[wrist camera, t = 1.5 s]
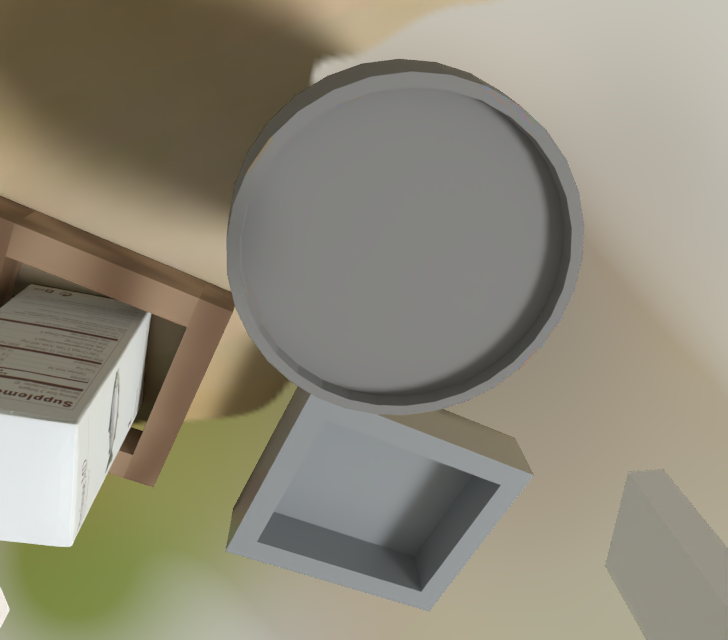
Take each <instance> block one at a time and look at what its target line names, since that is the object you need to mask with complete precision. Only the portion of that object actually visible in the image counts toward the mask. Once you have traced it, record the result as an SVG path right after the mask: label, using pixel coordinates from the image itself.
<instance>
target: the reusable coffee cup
mask: <svg viewBox="0 0 728 640" xmlns="http://www.w3.org/2000/svg"><path fill="white" fill-rule="evenodd" d="M583 234H584V222H583V215H582V209H581V203H580V196H579V191H578V189H577V186H576V183H575V181H574V178H573V176H572V173H571V170H570V168H569V165H568V163H567V160H566V159H565V157H564V155H563V154H562V153H561V151H560V150H559V148H558V147H557V145H556V144H555V142H554V141H553V139H552V138H551V136H550V135H549V133H548V132H547V130H546V129H545V128H544V127H543V126H541V125H540V124H539V123H538V122H537V121H536V120H535V119H534V118H533V117H532V116H531V115H530V114H529V113H528V112H527V111H526V110H524V109H523V108H522V107H521V106H520V105H519V104H517V103H516V102H515V101H513V100H512V99H510V98H509V97H508V96H506V95H505V94H504V93H502V92H501V91H499V90H498V89H496V88H495V87H493V86H491V85H489V84H488V83H486V82H484V81H482V80H481V79H479V78H477V77H476V76H474V75H472V74H471V73H468V72H465V71H462V70H459V69H456V68H452V67H449V66H446V65H443V64H440V63H437V62H428V61H417V60H406V59H405V60H404V59H395V60H388V61H379V62H372V63H364V64H360V65H357V66H354V67H352V68H349V69H346V70H343V71H340V72H338V73H335V74H332V75H329V76H327V77H325V78H323V79H322V80H320V81H319V82H317V83H315V84H314V85H312V86H310V87H309V88H307V89H306V90H304V91H302V92H301V93H299V94H297V95H296V96H295V97H294V98H293V99H292V100H290V101H289V102H288V103H287V104H286V105H285V106H284V107H283V108H282V109H281V110H280V111H279V112H278V113H277V114H276V115H275V116H274V117H273V118H272V119H271V120H270V121H269V122H268V123H267V125H266V126H265V127H264V129H263V130H262V132H261V133H260V135H259V136H258V138H257V139H256V141H255V142H254V144H253V145H252V146H251V148H250V149H249V151H248V153H247V156H246V158H245V161H244V163H243V165H242V168H241V170H240V173H239V175H238V177H237V180H236V182H235V187H234V192H233V198H232V203H231V208H230V213H229V221H228V230H227V275H228V279H229V283H230V288H231V292H232V296H233V300H234V305H235V308H236V310H237V312H238V314H239V316H240V318H241V320H242V323H243V325H244V327H245V329H246V331H247V333H248V335H249V337H250V338H251V339H252V341H253V342H254V343H255V345H256V346H257V347H258V349H259V350H260V352H261V353H262V354H263V356H264V357H265V358H266V360H267V361H268V362H269V363H270V364H272V365H273V366H274V367H275V368H276V369H277V370H278V371H279V372H280V373H281V374H283V375H284V376H285V377H286V378H287V379H288V380H289V381H290V382H292V383H294V384H295V385H297V386H299V387H300V388H302V389H303V390H305V391H307V392H308V393H310V394H312V395H313V396H315V397H317V398H319V399H322V400H324V401H327V402H330V403H332V404H335V405H337V406H340V407H343V408H346V409H351V410H356V411H361V412H366V413H371V414H385V415H409V414H416V413H424V412H431V411H437V410H440V409H443V408H446V407H449V406H453V405H456V404H459V403H462V402H466V401H468V400H470V399H472V398H474V397H476V396H478V395H480V394H482V393H484V392H486V391H488V390H490V389H492V388H494V387H495V386H496V385H498V384H499V383H501V382H502V381H504V380H505V379H506V378H508V377H509V376H511V375H512V374H513V373H515V372H516V371H518V370H519V369H520V368H521V367H522V366H523V365H524V364H525V363H526V362H527V361H528V360H529V359H530V358H531V357H532V356H533V355H534V354H535V353H536V352H537V351H538V350H539V349H540V348H541V347H542V346H543V344H544V343H545V342H546V340H547V339H548V337H549V336H550V334H551V333H552V331H553V330H554V329H555V327H556V326H557V324H558V323H559V322H560V320H561V318H562V316H563V314H564V312H565V309H566V307H567V305H568V303H569V301H570V299H571V297H572V294H573V292H574V289H575V286H576V282H577V278H578V273H579V269H580V266H581V262H582V255H583Z"/></svg>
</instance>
